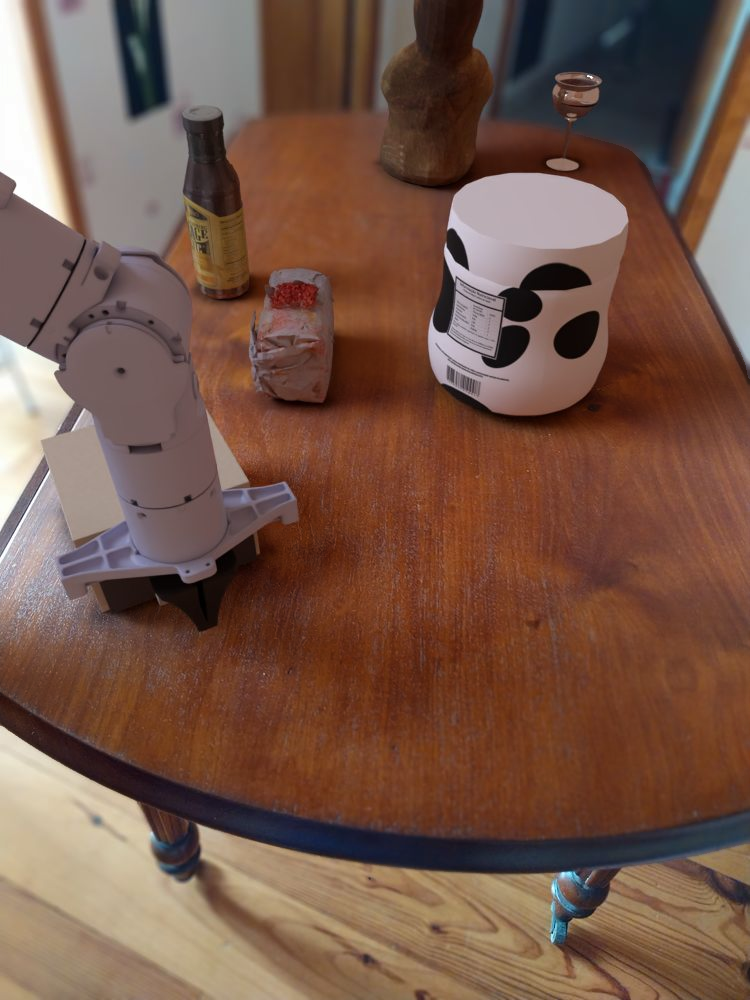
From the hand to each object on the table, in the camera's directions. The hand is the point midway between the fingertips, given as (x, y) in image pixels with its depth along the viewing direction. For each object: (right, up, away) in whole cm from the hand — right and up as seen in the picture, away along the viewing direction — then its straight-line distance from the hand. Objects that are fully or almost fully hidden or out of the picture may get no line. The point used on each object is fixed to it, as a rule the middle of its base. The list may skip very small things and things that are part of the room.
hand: (204, 618), depth 52 cm
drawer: (-4, +4, +7) cm, 9 cm away
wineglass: (+41, +60, +65) cm, 98 cm away
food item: (+4, +21, +26) cm, 34 cm away
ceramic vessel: (+20, +57, +61) cm, 86 cm away
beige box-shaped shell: (-6, +5, +10) cm, 13 cm away
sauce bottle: (-6, +33, +37) cm, 50 cm away
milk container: (+26, +20, +25) cm, 41 cm away
